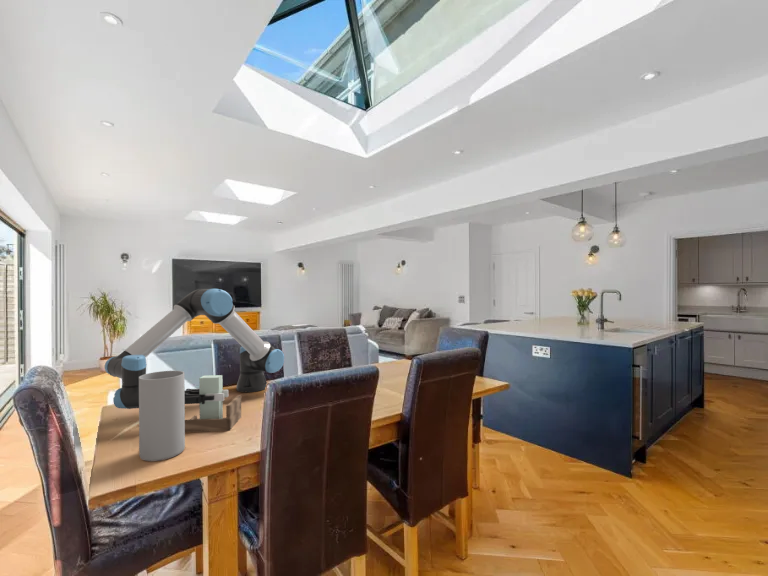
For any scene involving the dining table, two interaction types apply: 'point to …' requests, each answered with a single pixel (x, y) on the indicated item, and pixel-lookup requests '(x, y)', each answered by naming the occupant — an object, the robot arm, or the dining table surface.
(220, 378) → the pale green block
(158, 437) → the cylinder vase
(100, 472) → the dining table surface
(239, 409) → the tray
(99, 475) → the dining table surface
